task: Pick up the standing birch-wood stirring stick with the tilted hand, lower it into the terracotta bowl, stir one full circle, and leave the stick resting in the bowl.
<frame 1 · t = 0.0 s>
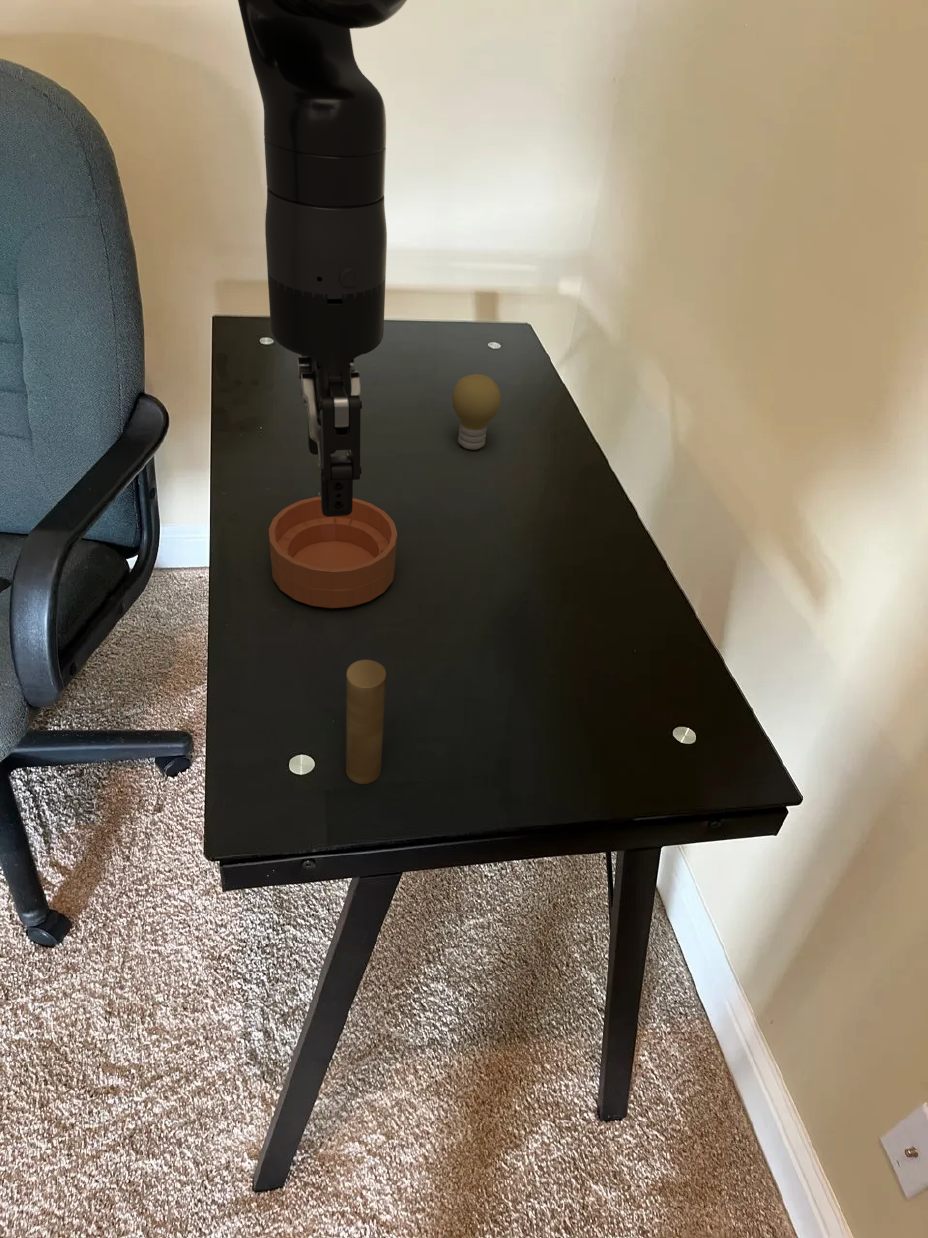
hand: (329, 481, 64), 22 cm above the table, tool pointing down, fingers open, 8 cm apart
stick: (363, 770, 71), on the table
light bulb: (470, 446, 113), on the table
bowl: (333, 572, 90), on the table
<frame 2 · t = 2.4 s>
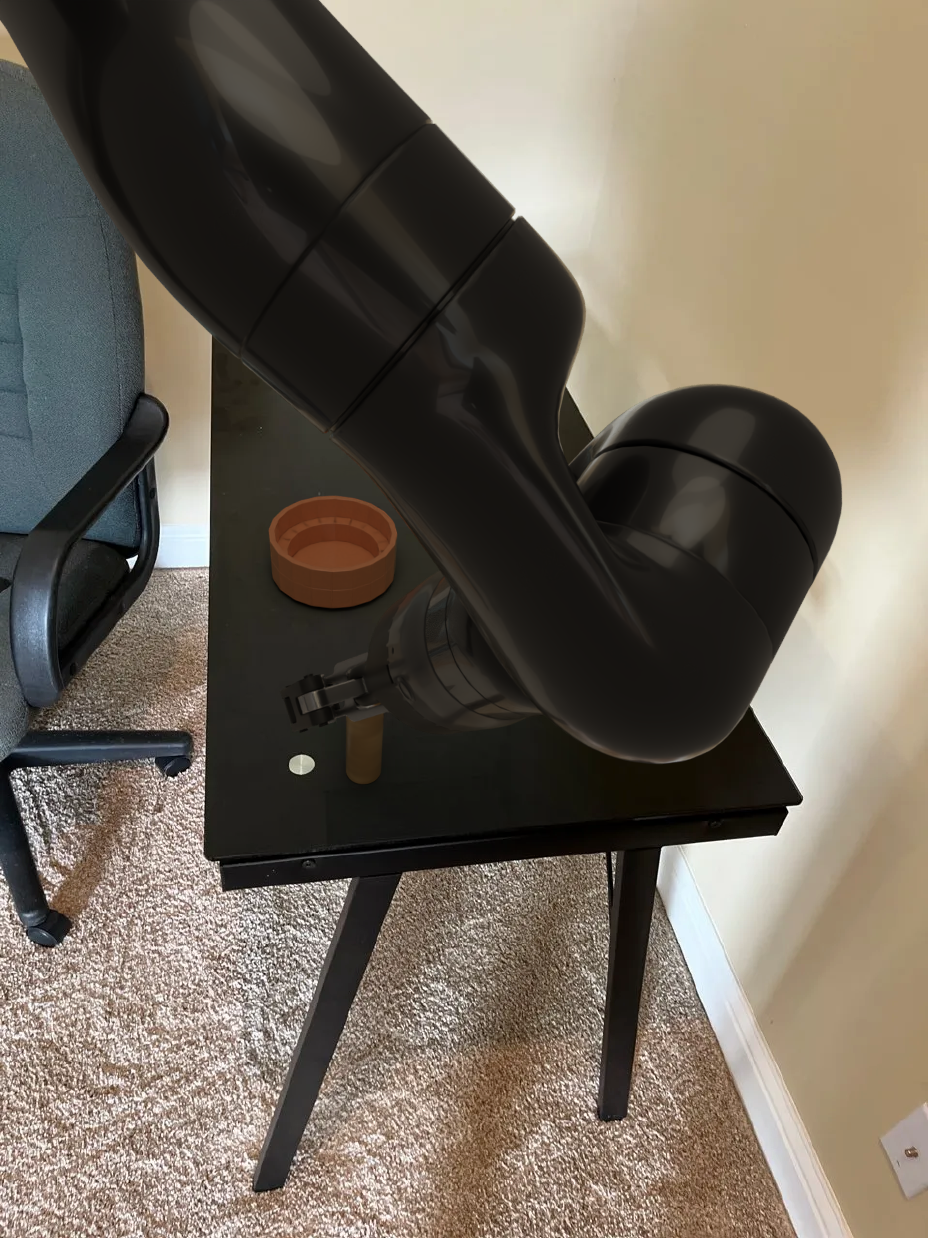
hand: (383, 683, 53), 19 cm above the table, tool tilted 40°, fingers open, 8 cm apart
nothing on the table moved.
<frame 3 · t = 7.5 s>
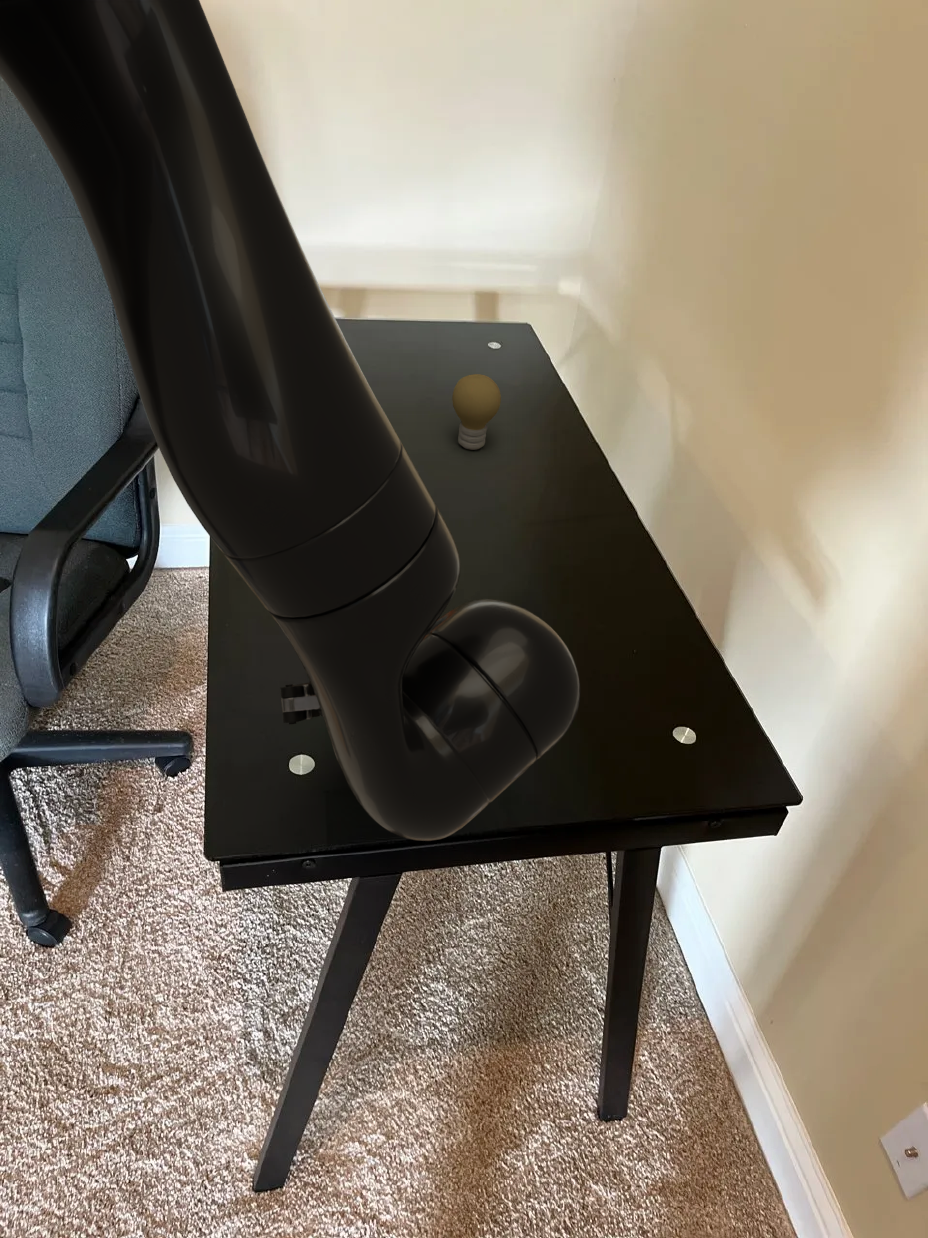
hand: (360, 689, 67), 8 cm above the table, tool tilted 45°, fingers closed on stick, 3 cm apart
stick: (363, 770, 71), on the table, touching gripper
everything else where it was.
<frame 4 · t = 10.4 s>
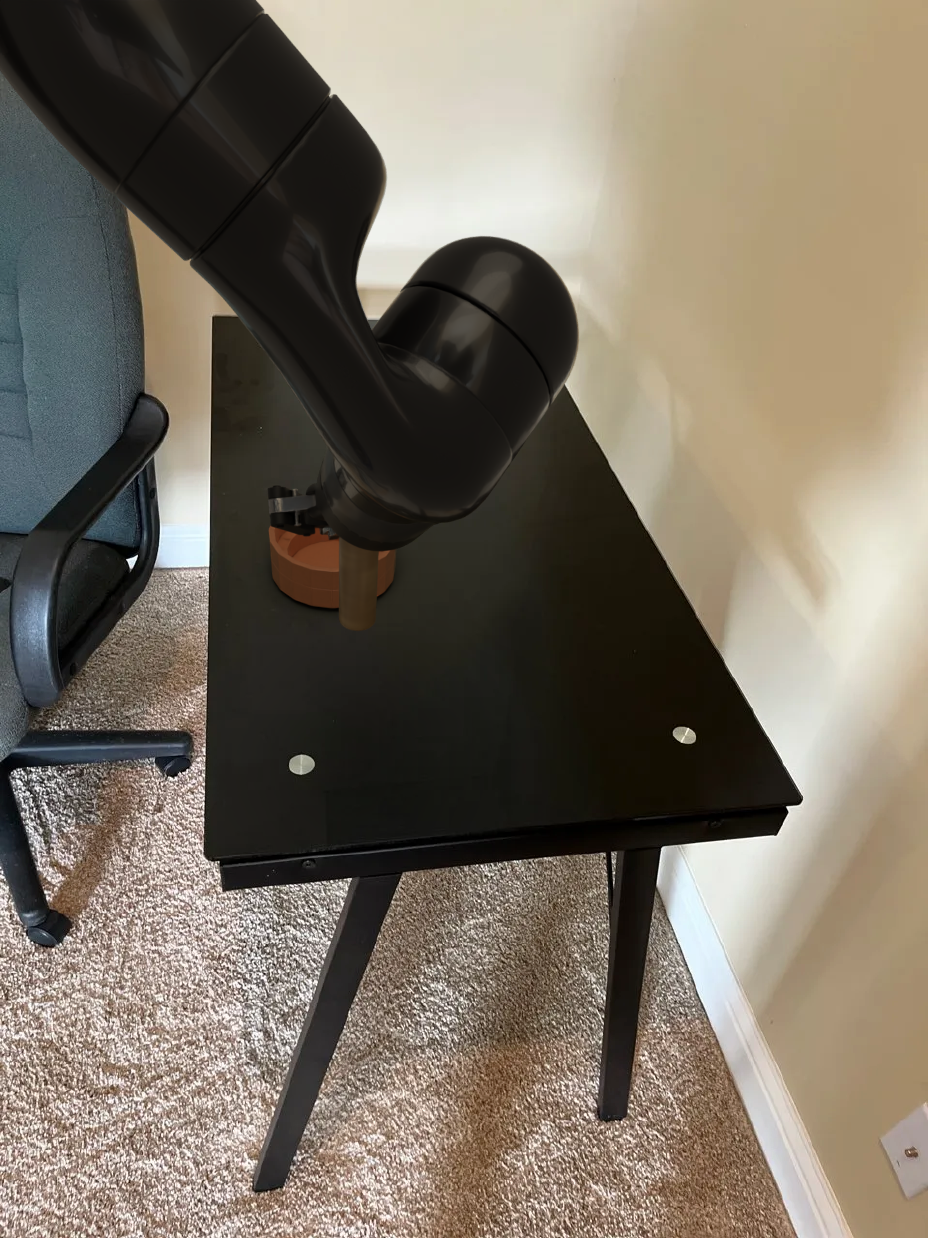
hand: (354, 524, 64), 20 cm above the table, tool tilted 45°, fingers closed on stick, 3 cm apart
stick: (357, 618, 67), point 12 cm above the table, touching gripper
everything else where it was.
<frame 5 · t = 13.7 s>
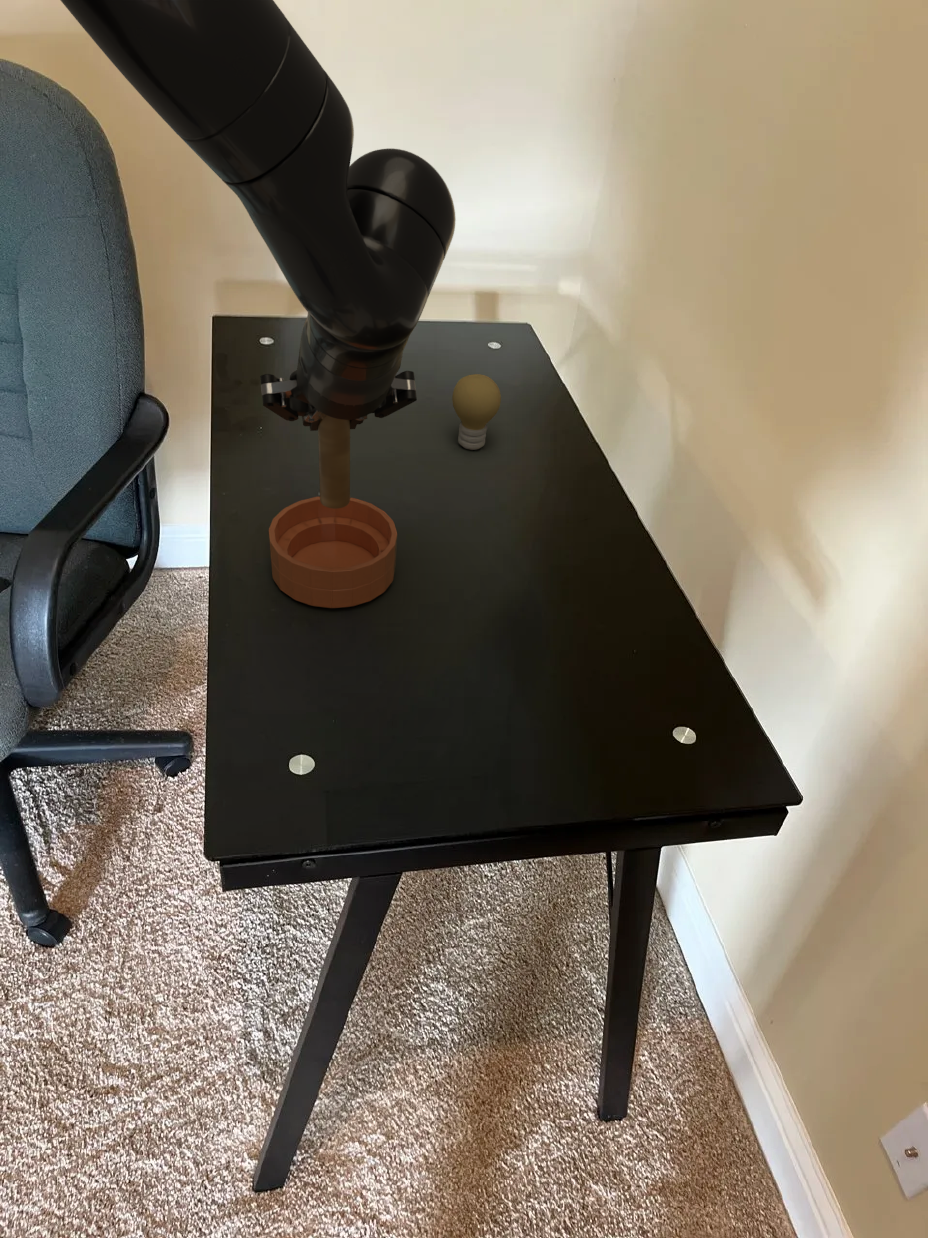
hand: (331, 419, 80), 18 cm above the table, tool tilted 45°, fingers closed on stick, 3 cm apart
stick: (335, 500, 84), point 10 cm above the table, touching gripper
everything else where it was.
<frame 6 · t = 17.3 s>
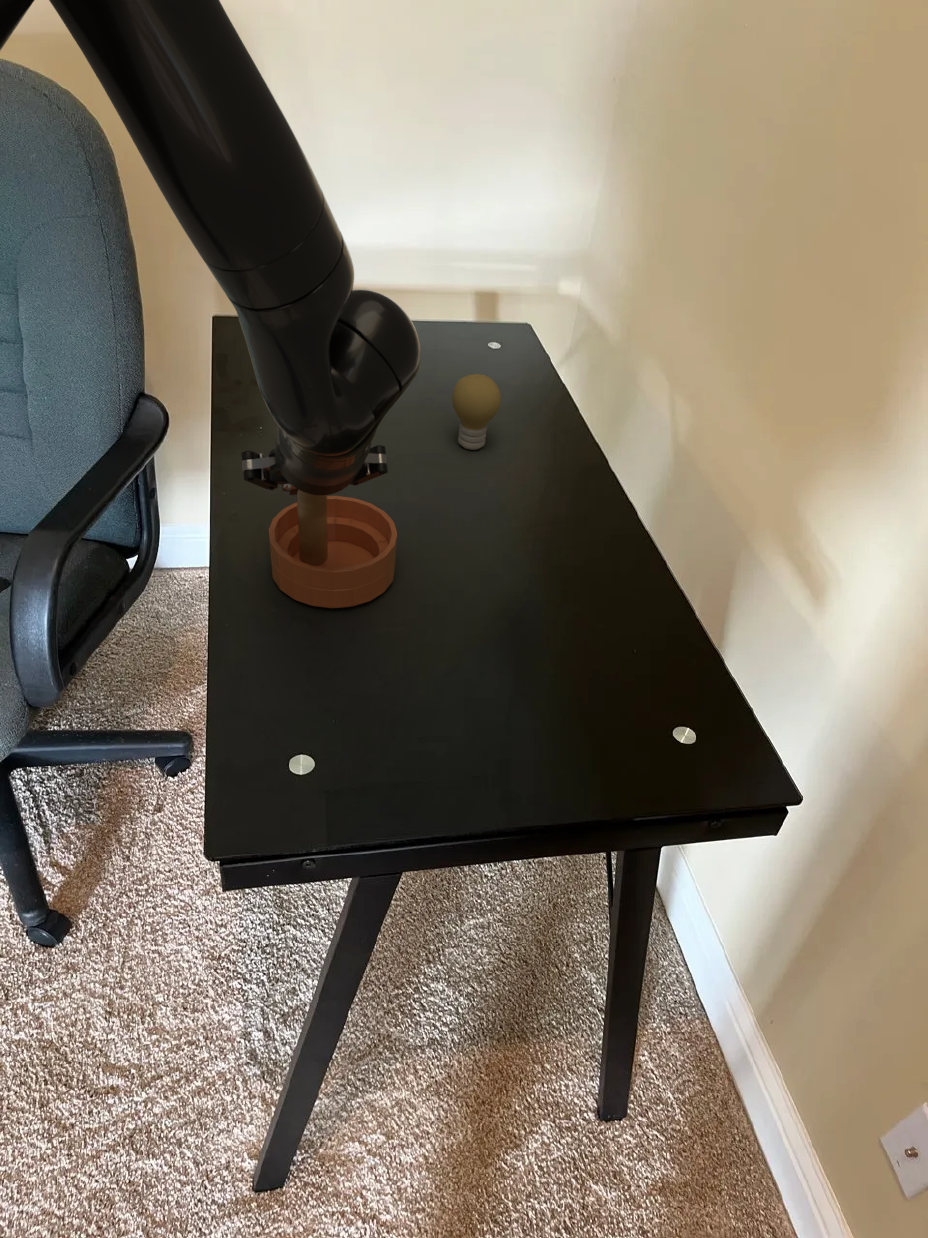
hand: (309, 484, 85), 10 cm above the table, tool tilted 45°, fingers closed on stick, 3 cm apart
stick: (313, 557, 89), point 2 cm above the table, touching gripper
everything else where it was.
when the fingers open (9 cm above the table, at t = 20.1 s): stick stays where it is, resting on bowl.
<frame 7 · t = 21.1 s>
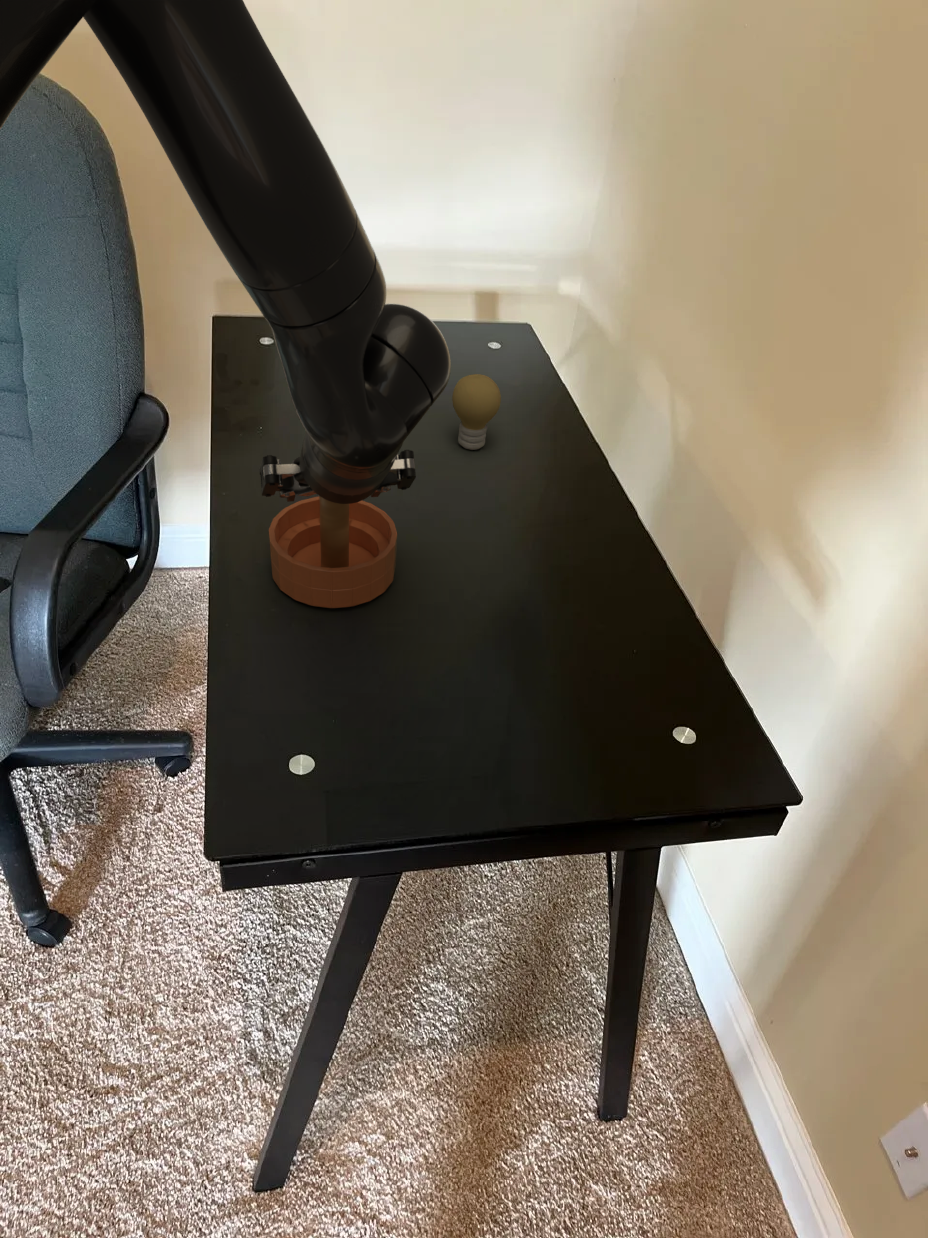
hand: (331, 489, 85), 10 cm above the table, tool tilted 45°, fingers open, 8 cm apart
stick: (334, 567, 90), point 1 cm above the table, touching bowl
everything else where it was.
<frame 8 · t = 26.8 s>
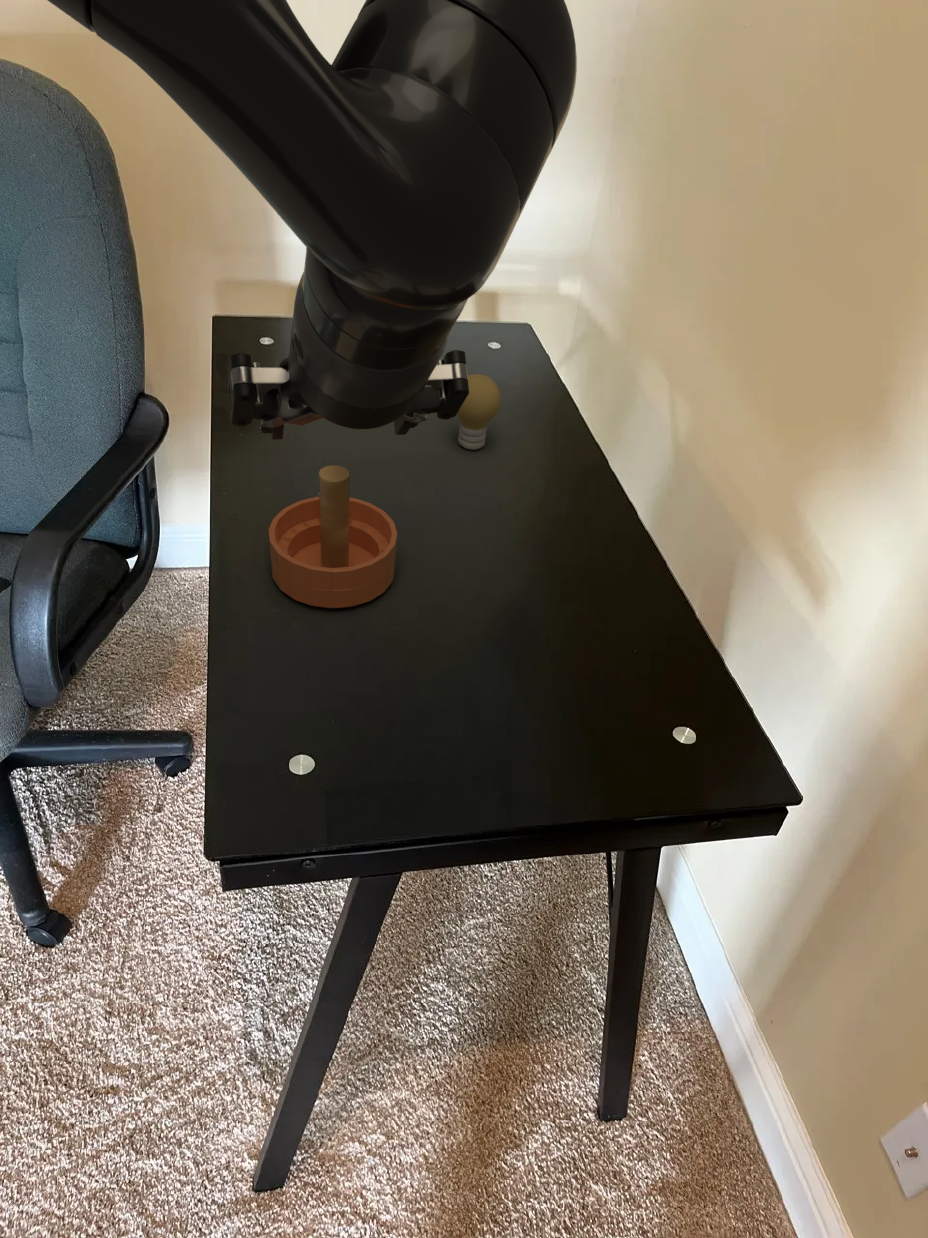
hand: (337, 423, 57), 29 cm above the table, tool tilted 45°, fingers open, 8 cm apart
nothing on the table moved.
at the end: stick inside the target area in the bowl (0.1 cm from its centre), point 0.6 cm above the bowl's base; the gripper is holding nothing; stick moved 27.1 cm from its start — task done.
